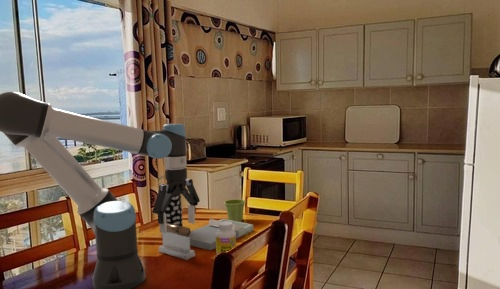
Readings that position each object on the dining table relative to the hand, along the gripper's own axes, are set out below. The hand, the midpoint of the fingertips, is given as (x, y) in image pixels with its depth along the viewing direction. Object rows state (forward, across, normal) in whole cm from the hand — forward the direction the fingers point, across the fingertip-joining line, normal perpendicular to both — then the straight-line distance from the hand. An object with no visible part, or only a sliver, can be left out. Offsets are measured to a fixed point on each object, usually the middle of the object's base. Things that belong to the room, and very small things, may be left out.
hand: (178, 227), depth 146 cm
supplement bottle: (+9, +4, -19) cm, 22 cm away
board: (+9, +16, 0) cm, 18 cm away
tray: (+9, +28, 0) cm, 30 cm away
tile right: (+7, +25, -4) cm, 26 cm away
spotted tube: (+9, +12, +16) cm, 22 cm away
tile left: (+7, +25, +3) cm, 26 cm away
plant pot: (+9, +40, +7) cm, 42 cm away
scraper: (+9, -1, 0) cm, 9 cm away
